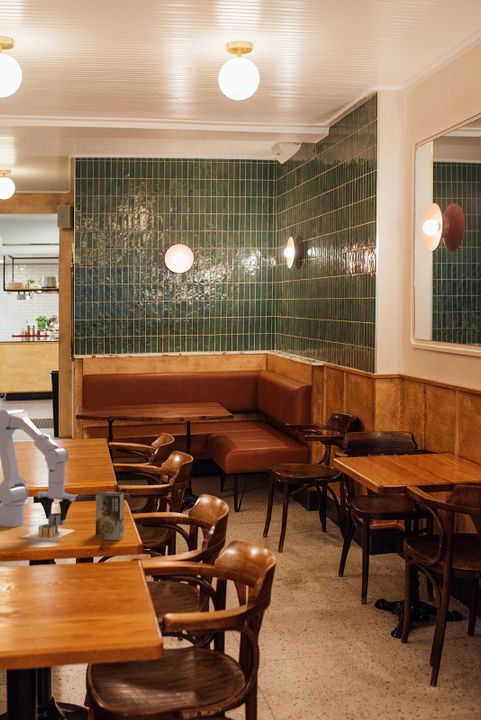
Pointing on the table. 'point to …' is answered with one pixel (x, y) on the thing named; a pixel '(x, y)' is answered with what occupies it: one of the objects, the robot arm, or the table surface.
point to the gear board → (58, 533)
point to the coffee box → (110, 515)
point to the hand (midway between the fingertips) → (55, 519)
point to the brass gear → (46, 531)
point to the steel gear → (55, 519)
